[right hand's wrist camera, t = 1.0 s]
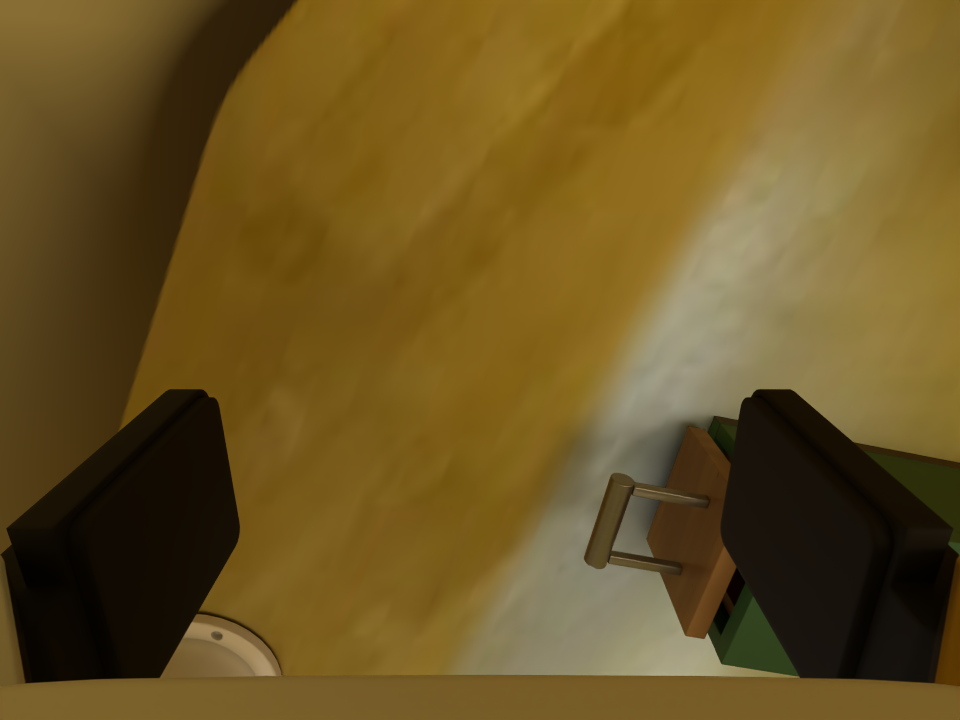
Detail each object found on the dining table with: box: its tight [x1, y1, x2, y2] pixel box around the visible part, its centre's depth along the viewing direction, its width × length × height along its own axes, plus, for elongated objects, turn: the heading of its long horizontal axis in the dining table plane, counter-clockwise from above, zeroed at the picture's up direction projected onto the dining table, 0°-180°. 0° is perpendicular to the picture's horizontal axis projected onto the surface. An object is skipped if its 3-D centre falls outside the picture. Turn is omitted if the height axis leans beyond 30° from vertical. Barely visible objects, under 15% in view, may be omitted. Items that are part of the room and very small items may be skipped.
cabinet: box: [708, 416, 960, 676], centre depth 38 cm, size 20×10×11 cm, turn 78°
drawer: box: [584, 426, 745, 639], centre depth 38 cm, size 24×9×9 cm, turn 78°
